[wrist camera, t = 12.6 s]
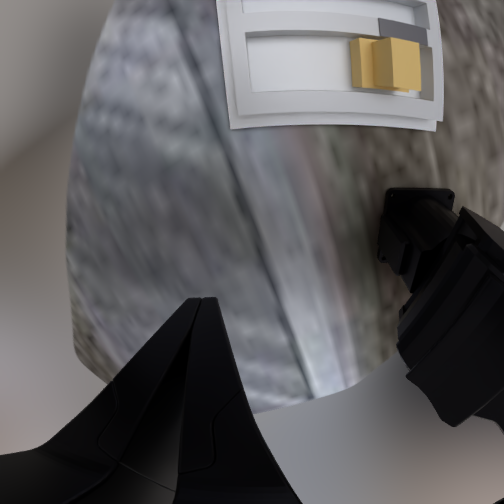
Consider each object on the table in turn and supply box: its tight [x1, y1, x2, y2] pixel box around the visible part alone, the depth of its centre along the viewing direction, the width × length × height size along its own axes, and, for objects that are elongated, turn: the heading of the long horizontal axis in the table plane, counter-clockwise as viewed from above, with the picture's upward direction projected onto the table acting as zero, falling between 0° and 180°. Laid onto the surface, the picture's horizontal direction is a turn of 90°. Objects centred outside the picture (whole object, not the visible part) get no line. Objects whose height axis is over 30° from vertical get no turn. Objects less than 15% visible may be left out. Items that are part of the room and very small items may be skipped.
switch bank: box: [216, 0, 444, 132], centre depth 11 cm, size 14×16×3 cm
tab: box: [350, 37, 421, 93], centre depth 11 cm, size 3×3×4 cm
